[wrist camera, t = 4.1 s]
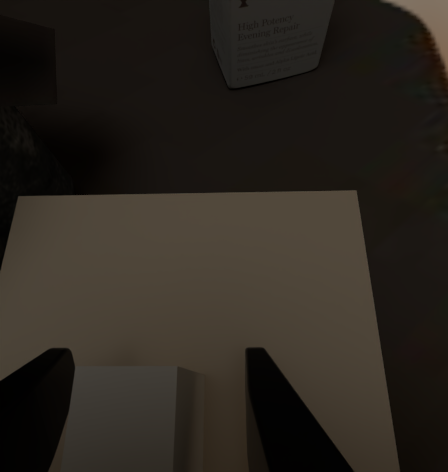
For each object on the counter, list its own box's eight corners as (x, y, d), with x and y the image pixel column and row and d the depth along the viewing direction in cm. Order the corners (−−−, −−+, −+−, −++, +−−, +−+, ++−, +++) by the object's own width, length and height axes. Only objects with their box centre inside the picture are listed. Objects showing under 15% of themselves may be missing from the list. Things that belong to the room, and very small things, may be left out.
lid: (396, 507, 9) (589, 654, 4) (-41, 502, 10) (-349, 631, 5) (351, 199, 13) (427, 72, 8) (27, 204, 13) (-108, 87, 8)
